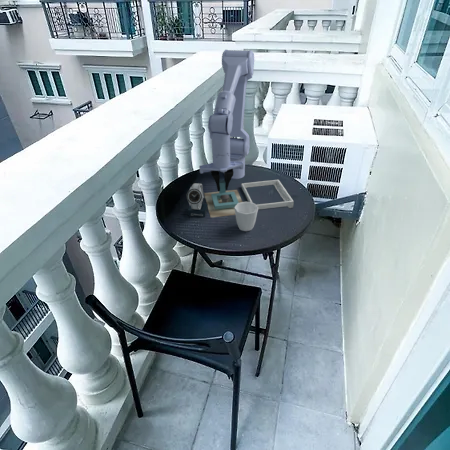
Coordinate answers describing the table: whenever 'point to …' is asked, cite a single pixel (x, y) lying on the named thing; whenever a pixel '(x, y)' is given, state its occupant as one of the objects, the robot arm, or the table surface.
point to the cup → (246, 215)
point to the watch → (196, 201)
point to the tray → (280, 189)
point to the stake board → (222, 199)
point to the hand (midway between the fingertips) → (222, 189)
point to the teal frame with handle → (223, 192)
